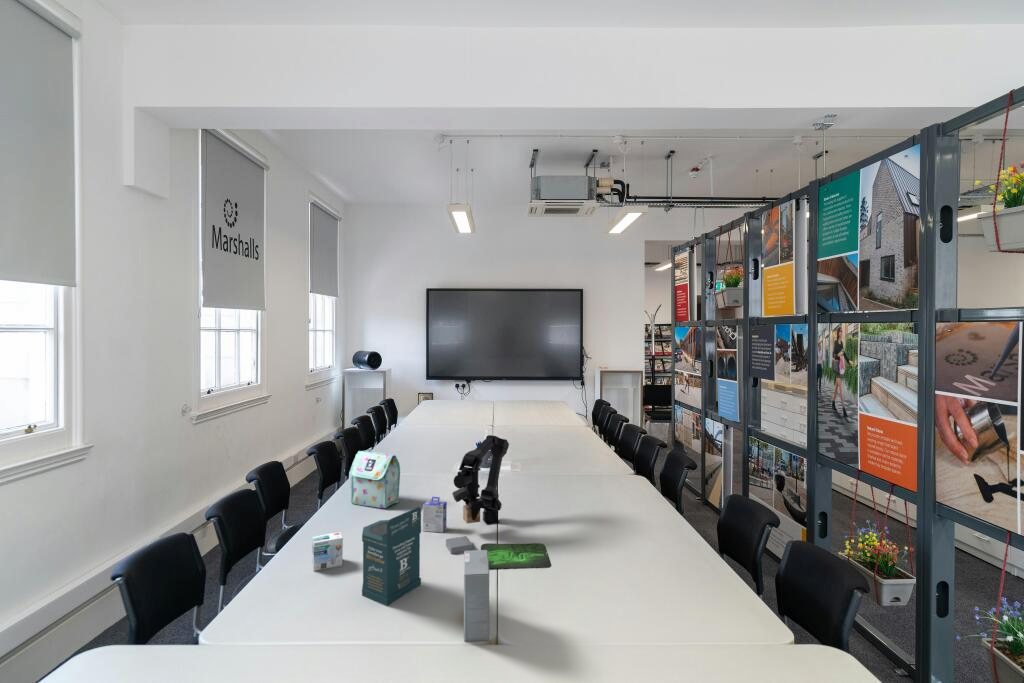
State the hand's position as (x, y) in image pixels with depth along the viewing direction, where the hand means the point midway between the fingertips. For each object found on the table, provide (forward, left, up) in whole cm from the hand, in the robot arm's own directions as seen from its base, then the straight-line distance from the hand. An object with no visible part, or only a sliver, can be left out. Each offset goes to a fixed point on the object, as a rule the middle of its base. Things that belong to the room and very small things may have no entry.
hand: (471, 517), depth 216 cm
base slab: (+9, +11, -8) cm, 16 cm away
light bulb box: (+60, +7, -8) cm, 61 cm away
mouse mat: (-10, +26, -8) cm, 29 cm away
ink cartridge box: (+14, -11, -8) cm, 19 cm away
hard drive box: (+19, +65, -8) cm, 68 cm away
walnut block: (0, 0, -1) cm, 1 cm away
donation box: (+41, +33, -8) cm, 53 cm away
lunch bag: (+35, -56, -8) cm, 66 cm away
